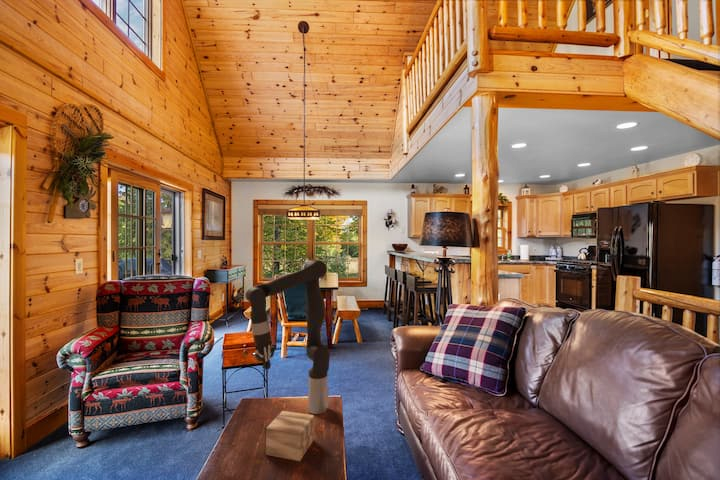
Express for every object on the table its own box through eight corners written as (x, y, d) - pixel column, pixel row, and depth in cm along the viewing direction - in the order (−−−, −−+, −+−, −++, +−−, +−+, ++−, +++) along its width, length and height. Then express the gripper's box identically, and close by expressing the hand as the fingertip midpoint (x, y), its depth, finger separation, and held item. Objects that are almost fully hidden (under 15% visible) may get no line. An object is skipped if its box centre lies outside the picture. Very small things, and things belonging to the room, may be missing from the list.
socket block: (281, 434, 146) (281, 410, 146) (313, 440, 142) (313, 415, 142) (264, 454, 132) (265, 428, 132) (299, 461, 128) (300, 433, 128)
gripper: (255, 337, 143) (261, 376, 144) (278, 326, 154) (284, 363, 155) (243, 336, 147) (250, 374, 148) (266, 326, 158) (272, 361, 159)
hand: (267, 368), depth 151 cm, fingers closed
